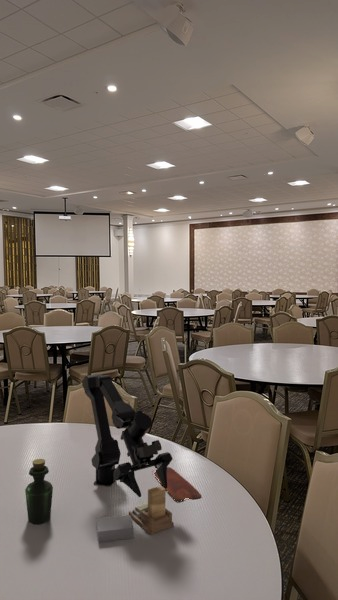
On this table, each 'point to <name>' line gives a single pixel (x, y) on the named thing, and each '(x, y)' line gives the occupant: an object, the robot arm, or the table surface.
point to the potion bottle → (39, 494)
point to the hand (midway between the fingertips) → (153, 492)
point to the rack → (151, 519)
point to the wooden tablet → (179, 486)
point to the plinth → (114, 528)
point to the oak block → (156, 502)
